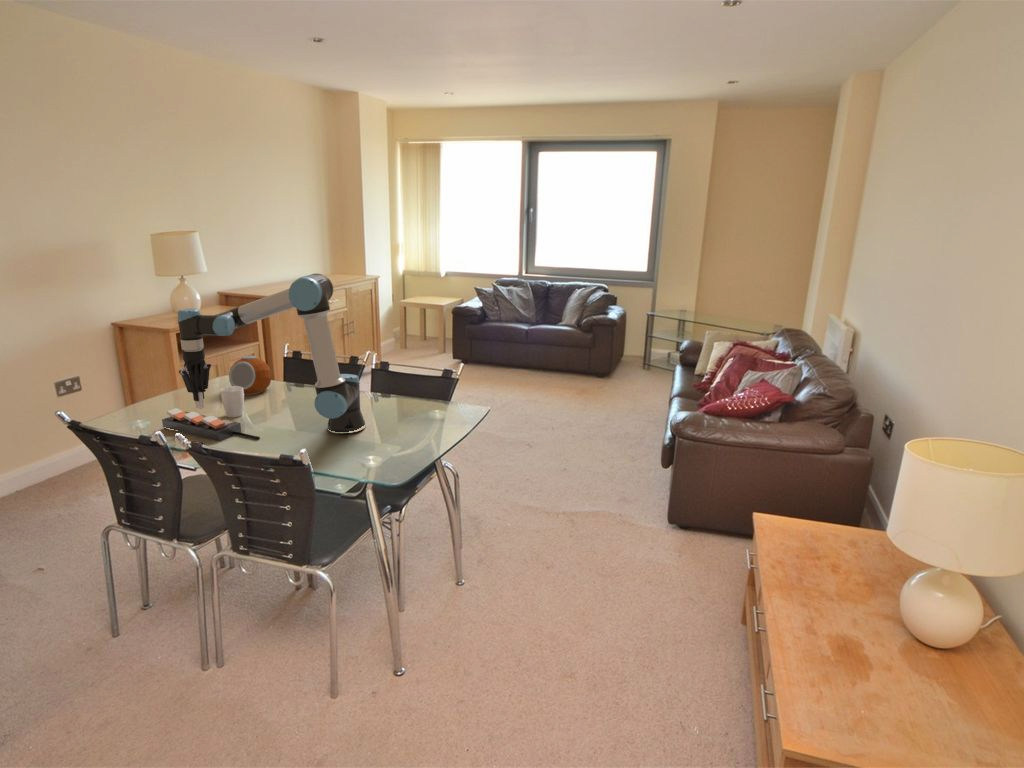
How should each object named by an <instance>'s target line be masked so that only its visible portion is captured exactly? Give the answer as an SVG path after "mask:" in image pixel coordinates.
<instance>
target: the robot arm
mask: <svg viewBox="0 0 1024 768" xmlns="http://www.w3.org/2000/svg"><path fill="white" fill-rule="evenodd" d="M333 295H334V286H333V282H332V281H331V280H330V278H328V277H327V276H326V275H324V274H322V273H312V274H309V275H305V276H301V277H298V278H297V279H295V280H294V281H293V282H292V283H291V285H290V286H289V288H286V289H284V290H282V291H277V292H276V293H273V294H270V295H267V296H265V297H262V298H259V299H257V300H254V301H251V302H248V303H245V304H241V305H240V306H237V307H234V308H231V309H228V310H226V311H223V312H220V313H216V314H213V315H211V314H210V315H209V314H201V312H200V309H198V308H182V309H181V308H180V309H179V310H178V311H177V323H178V328H179V329H178V330H179V337H180V346H181V350H182V352H181V353H182V360H183V361H184V364H183V368H182V369H179V370H178V373H179V374H180V375H181V377H182V380H183V382H184V385H185V389H186V391H187V392H188V393H189V394H191V393H192V396H193V401H194V403H195V408H196V409H199V410H203V409H205V401H204V399H205V392H206V391H207V389H208V388H209V381H210V379H209V378H210V369H211V367H212V364H211V363H207V362H206V360H205V358H206V355H205V349H204V348H205V345H204V338H203V336H217V337H218V336H219V337H224V336H228V337H229V336H231V335H233V333H234V332H235V329H236V330H237V329H238V328H241V327H244V326H246V325H249V324H252V323H255V322H257V321H260V320H263V319H266V318H269V317H271V316H275V315H277V314H280V313H283V312H286V311H289V310H292V309H294V308H295V309H296V313H297V317H300V319H302V320H303V322H304V327H305V332H306V336H307V339H308V341H307V342H308V344H309V345H308V346H309V349H310V355H311V358H312V362H313V366H314V370H315V375H316V379H317V381H315V384H314V390H315V394H316V397H315V399H314V407H315V410H316V412H317V413H318V414H319V416H322V417H324V418H326V419H328V422H327V430H328V429H329V430H331V431H335V432H349V431H354V430H357V429H359V428H361V427H362V426H364V425H365V426H366V421H365V419H364V416H363V413H362V411H361V393H360V390H361V389H360V387H361V386H360V383H361V382H360V377H359V376H358V375H357V374H351V373H341V372H340V368H339V363H338V359H337V355H336V349H335V345H334V341H333V337H332V331H331V327H330V323H329V318H328V314H329V312H330V311H331V309H330V308H331V307H330V304H329V300H331V298H332V296H333Z"/></svg>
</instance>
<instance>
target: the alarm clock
mask: <svg viewBox="0 0 1024 768" xmlns="http://www.w3.org/2000/svg"><path fill="white" fill-rule="evenodd" d="M228 377H229V382H230V384H231V385H230V386H241V387H243V391H244V395H257V394H260V393H261V392H262V393H264V392H265V391H266V390H267V389H268V388H269V386H270V385H271V381H272V370H271V368H270V366H269V365H268V364H267V363H266V362H265V361H264V360H263V359H261V358H259V357H256V356H255V355H244V356H243V357H242V358H240V359H238V360H236V361H235V362H234V363H233V365H232V366H231V367H230V369H229V373H228ZM263 391H264V392H263ZM262 393H261V394H262Z"/></svg>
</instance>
